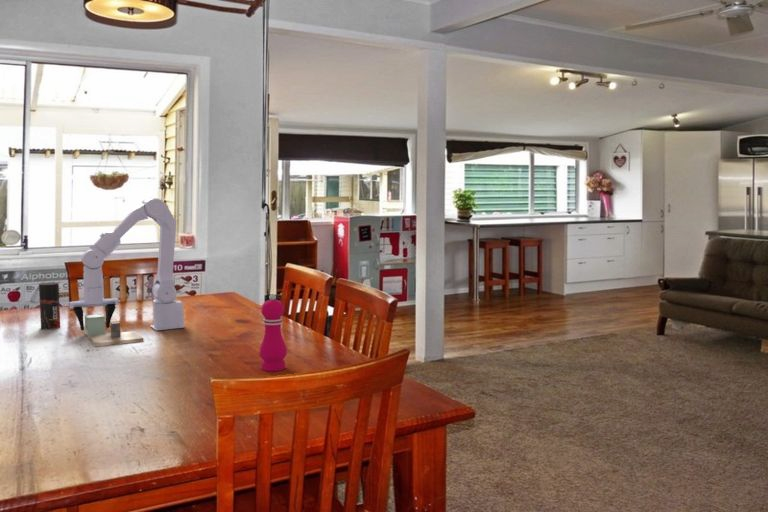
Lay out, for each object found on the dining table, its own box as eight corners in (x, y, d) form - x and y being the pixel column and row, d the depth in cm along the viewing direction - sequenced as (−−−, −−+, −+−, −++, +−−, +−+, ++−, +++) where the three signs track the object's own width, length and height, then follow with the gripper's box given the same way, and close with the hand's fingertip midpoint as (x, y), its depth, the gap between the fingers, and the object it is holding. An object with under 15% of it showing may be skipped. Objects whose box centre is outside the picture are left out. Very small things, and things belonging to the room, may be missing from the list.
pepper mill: (272, 363, 186) (272, 291, 184) (292, 367, 182) (292, 293, 180) (253, 369, 180) (252, 294, 178) (273, 373, 176) (272, 297, 174)
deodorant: (52, 329, 228) (50, 285, 226) (36, 328, 229) (34, 284, 227) (64, 326, 233) (62, 282, 232) (48, 325, 235) (46, 282, 233)
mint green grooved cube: (102, 331, 225) (101, 314, 224) (105, 334, 220) (104, 316, 220) (85, 333, 222) (84, 315, 221) (88, 336, 217) (87, 318, 217)
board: (134, 334, 222) (134, 317, 221) (143, 341, 212) (142, 323, 211) (88, 338, 214) (87, 321, 214) (95, 346, 204) (94, 328, 204)
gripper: (114, 283, 227) (116, 324, 228) (67, 287, 219) (68, 328, 220) (119, 286, 221) (120, 327, 222) (70, 289, 213) (72, 332, 214)
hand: (95, 328), depth 221 cm, fingers open, 7 cm apart
